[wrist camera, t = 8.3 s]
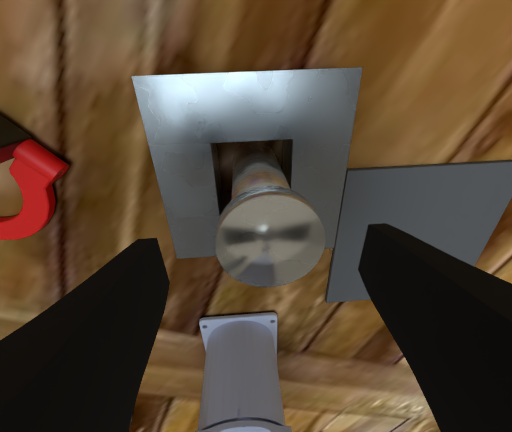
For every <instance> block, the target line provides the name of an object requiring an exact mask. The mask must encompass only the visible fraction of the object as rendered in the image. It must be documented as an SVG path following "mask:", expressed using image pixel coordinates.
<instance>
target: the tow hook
mask: <svg viewBox="0 0 512 432" xmlns="http://www.w3.org/2000/svg"><path fill="white" fill-rule="evenodd" d="M14 157H15V160H14V161H13V163H12V165H11V167H10V168H9V170H10V173H11V175H12V176H13V177H14V178H15V180H16V182H17V183H18V185H19V187H20V189H21V192H22V195H23V208H22V210H21V212H20V213H19V215H16V216H12V217H0V240H11V239H21V238H24V237H28V236H31V235H33V234H34V233H36V232H37V231H39V230H40V229H42V228H43V227H44V226H45V225H46V224H48V222H49V221H50V219H51V217H52V216H53V214H54V209H55V202H56V201H55V196H54V191H53V187H52V184H53V182H54V181H56V180H58V179H59V178H60V177H61V176H62V175H63V174H64V173H65V172H66V171H67V170H68V168H69V165H68V164H67V163H65V162H64V161H62V160H61V159H60V158H58V157H57V156H55V155H54V154H52V153H51V152H50V151H48V150H47V149H45V148H44V147H42V146H41V145H40V144H38V143H37V142H35V141H34V140H33V138H32V137H31V136H30V135H28V134H27V133H25V132H24V131H23V130H21V129H20V128H18V127H17V126H15V125H14V124H13V123H11V122H10V121H8V120H7V119H5V118H4V117H3V116H1V115H0V163H2V162H5V161H7V160H10V159H12V158H14Z"/></svg>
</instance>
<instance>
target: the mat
mask: <svg viewBox="0 0 512 432" xmlns="http://www.w3.org/2000/svg"><path fill="white" fill-rule="evenodd" d="M511 197H512V160H503V161H485V162H467V163H449V164H431V165H413V166H395V167H377V168H359V169H346V175H345V181H344V188H343V194H342V200H341V207H340V213H339V219H338V225H337V232H336V238H335V244H334V248H333V253H332V260H331V266H330V272H329V279H328V285H327V291H326V298H325V300H326V303H330V302H343V301H356V300H369V299H371V298H370V297H369V295H368V293H367V290H366V288H365V286H364V283H363V281H362V278H361V276H360V273H359V271H358V267H359V262H360V258H361V254H362V249H363V245H364V241H365V236H366V232H367V228H368V224H381V223H386V224H389V225H391V226H394V227H396V228H398V229H400V230H402V231H404V232H406V233H408V234H410V235H412V236H414V237H416V238H418V239H420V240H422V241H424V242H426V243H428V244H430V245H432V246H434V247H436V248H438V249H440V250H441V251H443V252H445V253H447V254H449V255H451V256H453V257H455V258H457V259H459V260H461V261H464V262H466V263H468V264H470V265H472V266H474V265H475V264H476V262H477V260H478V258H479V256H480V254H481V253H482V251H483V249H484V247H485V245H486V243H487V242H488V240H489V238H490V236H491V234H492V232H493V231H494V229H495V227H496V225H497V223H498V221H499V220H500V218H501V216H502V214H503V212H504V210H505V208H506V207H507V205H508V203H509V201H510V199H511Z"/></svg>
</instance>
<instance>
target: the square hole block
mask: <svg viewBox="0 0 512 432" xmlns="http://www.w3.org/2000/svg"><path fill="white" fill-rule="evenodd" d="M362 68H363V67H354V68H321V69H296V70H270V71H244V72H218V73H192V74H167V75H145V76H132V80H133V84H134V88H135V92H136V96H137V100H138V104H139V108H140V112H141V116H142V120H143V124H144V128H145V132H146V136H147V140H148V144H149V148H150V152H151V156H152V160H153V164H154V168H155V172H156V176H157V180H158V184H159V188H160V192H161V196H162V200H163V204H164V208H165V212H166V216H167V220H168V224H169V228H170V232H171V236H172V240H173V244H174V248H175V252H176V256H177V259H180V258H195V257H209V256H217V254H216V247H215V246H216V235H217V227H218V222H219V219H220V216H221V214H222V212H223V210H224V209H225V207H226V206H227V205H228V204H229V203H230V202H231V200H232V191H228V192H222V186H221V177H220V168H219V159H218V150H217V143H223V142H243V141H263V140H283V148H282V172H283V174H284V176H285V178H286V180H287V183H288V185H289V187H290V189H291V190H294V191H296V192H298V193H299V194H301V195H302V196H304V197H305V198H306V199H307V200H308V201H309V202H310V204H311V205H312V206H313V208H314V210H315V212H316V214H317V215H318V217H319V219H320V221H321V223H322V225H323V227H324V230H325V248H324V249H327V248H334V244H335V238H336V232H337V225H338V219H339V213H340V207H341V200H342V194H343V188H344V181H345V175H346V169H347V162H348V156H349V150H350V143H351V137H352V131H353V124H354V118H355V112H356V106H357V99H358V93H359V87H360V80H361V74H362Z"/></svg>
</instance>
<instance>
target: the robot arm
mask: <svg viewBox="0 0 512 432" xmlns="http://www.w3.org/2000/svg"><path fill="white" fill-rule="evenodd" d="M358 271H359V273H360V276H361V278H362V281H363V283H364V286H365V288H366V290H367V293H368V295H369V297H370V298H371V300H372V302H373V304H374V305H375V307H376V309H377V311H378V312H379V314H380V316H381V318H382V319H383V321H384V323H385V324H386V326H387V328H388V329H389V331H390V333H391V334H392V336H393V338H394V340H395V341H396V343H397V345H398V346H399V348H400V350H401V351H402V353H403V355H404V357H405V358H406V360H407V362H408V364H409V366H410V368H411V369H412V371H413V373H414V375H415V377H416V379H417V381H418V383H419V386H420V388H421V390H422V392H423V394H424V396H425V398H426V400H427V402H428V405H429V407H430V409H431V411H432V413H433V415H434V418H435V420H436V422H437V424H438V427H439V429H440V431H441V432H512V284H511V283H509V282H506V281H504V280H502V279H500V278H498V277H495V276H493V275H491V274H489V273H487V272H485V271H482V270H480V269H478V268H476V267H474V266H472V265H470V264H468V263H466V262H464V261H461V260H459V259H457V258H455V257H453V256H451V255H449V254H447V253H445V252H443V251H441V250H440V249H438V248H436V247H434V246H432V245H430V244H428V243H426V242H424V241H422V240H420V239H418V238H416V237H414V236H412V235H410V234H408V233H406V232H404V231H402V230H400V229H398V228H396V227H394V226H391V225H389V224H386V223H381V224H368V228H367V232H366V236H365V241H364V245H363V249H362V254H361V258H360V262H359V267H358ZM169 284H170V282H169V279H168V275H167V272H166V268H165V265H164V261H163V258H162V254H161V251H160V247H159V244H158V240H157V238H149V239H138V240H136V241H135V242H134V243H132V244H131V245H130V246H128V247H127V248H126V249H124V250H123V251H122V252H121V253H119V254H118V255H117V256H116V257H114V258H113V259H112V260H111V261H109V262H108V263H107V264H106V265H104V266H103V267H102V268H101V269H99V270H98V271H97V272H96V273H94V274H93V275H92V276H91V277H89V278H88V279H87V280H85V281H84V282H83V283H82V284H80V285H79V286H78V287H76V288H75V289H74V290H72V291H71V292H69V293H68V294H67V295H65V296H64V297H63V298H61V299H60V300H59V301H57V302H56V303H55V304H53V305H52V306H51V307H49V308H48V309H46V310H45V311H44V312H42V313H41V314H39V315H38V316H37V317H35V318H34V319H32V320H31V321H29V322H28V323H26V324H25V325H23V326H22V327H20V328H19V329H17V330H16V331H14V332H13V333H11V334H10V335H8V336H6V337H5V338H3V339H2V340H0V432H129V427H130V423H131V419H132V415H133V410H134V406H135V402H136V398H137V394H138V391H139V388H140V384H141V381H142V378H143V375H144V372H145V369H146V366H147V363H148V360H149V356H150V353H151V350H152V347H153V344H154V341H155V338H156V335H157V332H158V329H159V326H160V323H161V320H162V317H163V314H164V310H165V305H166V300H167V295H168V290H169ZM199 325H200V329H201V333H202V338H203V342H204V346H205V351H206V359H205V368H204V377H203V386H202V395H201V404H200V414H199V423H198V431H195V432H291V427H290V426H285V419H284V412H283V405H282V397H281V390H280V383H279V375H278V368H277V314H276V313H274V312H269V313H256V314H243V315H230V316H217V317H204V318H201V319H200V322H199Z"/></svg>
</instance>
